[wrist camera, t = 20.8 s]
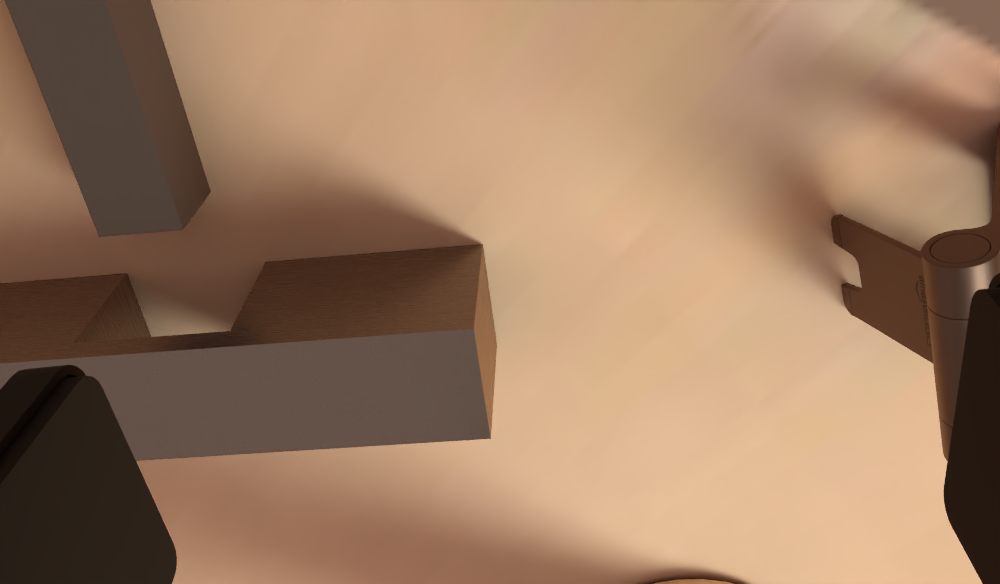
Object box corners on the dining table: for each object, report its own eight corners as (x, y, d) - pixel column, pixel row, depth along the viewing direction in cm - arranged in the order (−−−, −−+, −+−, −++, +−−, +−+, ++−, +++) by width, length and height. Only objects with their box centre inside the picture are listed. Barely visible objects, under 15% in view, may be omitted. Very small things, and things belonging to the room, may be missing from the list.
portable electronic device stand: (1048, 302, 36) (1172, 440, 29) (851, 349, 38) (923, 490, 31) (1043, 107, 32) (1187, 212, 25) (821, 169, 33) (897, 285, 26)
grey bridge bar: (496, 345, 38) (490, 438, 33) (-26, 382, 40) (-107, 475, 35) (482, 244, 36) (473, 328, 30) (-76, 290, 38) (-171, 375, 33)
